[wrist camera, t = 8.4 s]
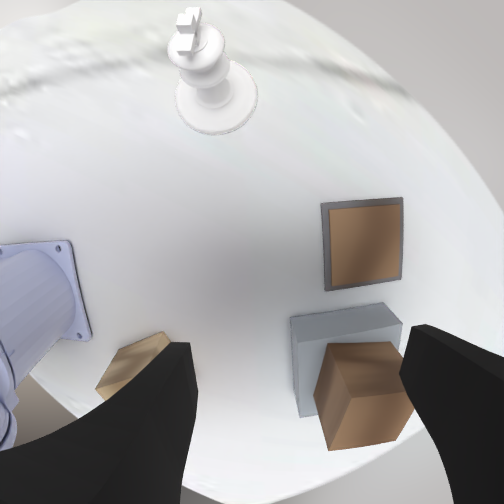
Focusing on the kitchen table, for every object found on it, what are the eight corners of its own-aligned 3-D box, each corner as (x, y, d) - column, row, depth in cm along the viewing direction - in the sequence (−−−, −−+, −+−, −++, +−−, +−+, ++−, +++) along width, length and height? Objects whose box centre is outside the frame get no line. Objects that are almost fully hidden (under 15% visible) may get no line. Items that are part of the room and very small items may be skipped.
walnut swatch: (324, 290, 19) (326, 292, 19) (320, 203, 18) (322, 204, 17) (400, 278, 19) (402, 280, 19) (401, 197, 18) (404, 198, 17)
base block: (293, 387, 22) (299, 417, 19) (289, 315, 20) (297, 342, 17) (373, 372, 22) (388, 398, 19) (381, 300, 20) (402, 323, 17)
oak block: (151, 389, 22) (136, 432, 17) (119, 348, 20) (94, 389, 16) (195, 374, 21) (186, 421, 16) (163, 330, 20) (144, 373, 15)
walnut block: (312, 395, 18) (328, 451, 13) (327, 342, 17) (351, 397, 12) (371, 391, 18) (395, 440, 13) (390, 341, 17) (425, 388, 12)
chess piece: (262, 64, 15) (280, -32, 5) (252, 138, 16) (262, 101, 7) (182, 59, 15) (128, -29, 5) (170, 132, 16) (90, 98, 7)
